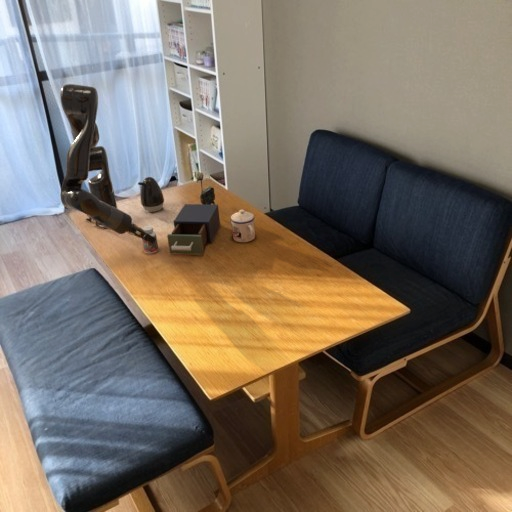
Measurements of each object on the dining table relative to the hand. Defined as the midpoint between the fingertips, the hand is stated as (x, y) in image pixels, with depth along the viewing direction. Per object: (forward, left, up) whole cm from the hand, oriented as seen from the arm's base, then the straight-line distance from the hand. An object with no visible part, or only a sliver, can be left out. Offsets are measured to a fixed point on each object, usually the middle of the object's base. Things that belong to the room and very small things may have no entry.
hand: (148, 237), depth 191 cm
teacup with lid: (+32, +17, -6) cm, 37 cm away
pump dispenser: (-18, +34, -6) cm, 39 cm away
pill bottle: (0, 0, -6) cm, 6 cm away
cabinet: (+12, +17, -6) cm, 22 cm away
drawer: (+14, +4, -5) cm, 16 cm away
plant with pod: (+7, +35, -6) cm, 36 cm away
